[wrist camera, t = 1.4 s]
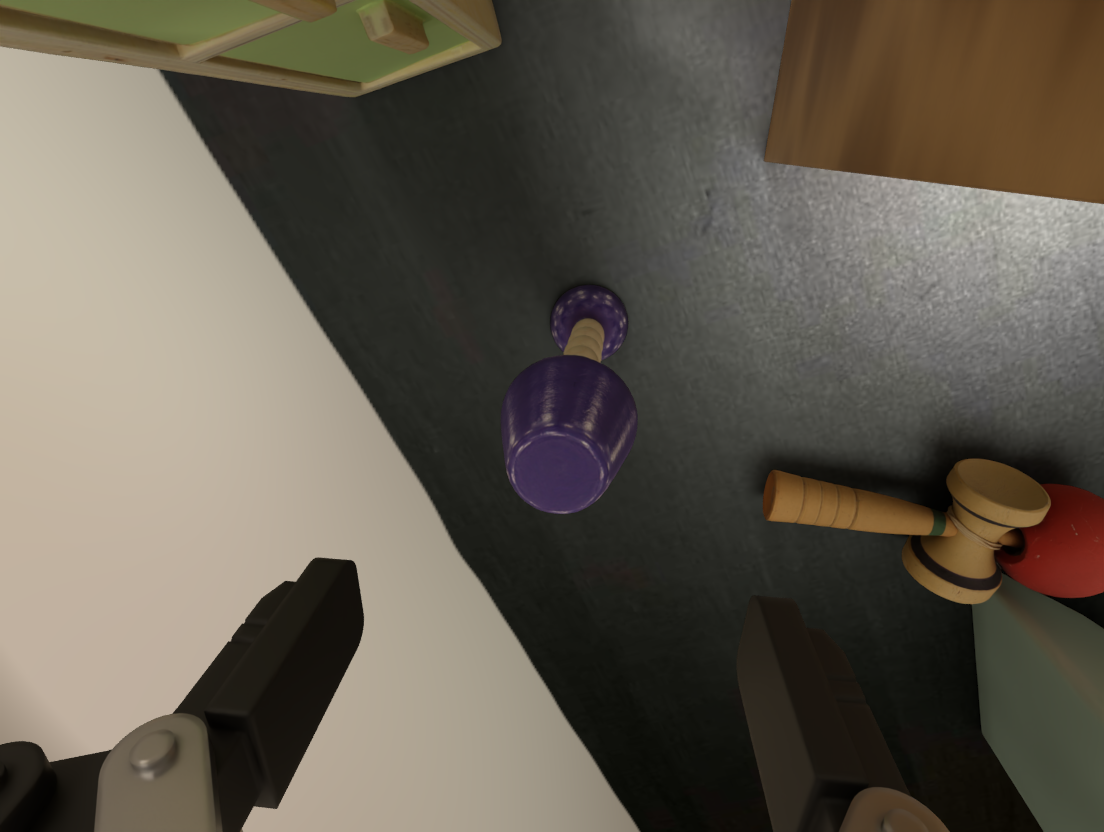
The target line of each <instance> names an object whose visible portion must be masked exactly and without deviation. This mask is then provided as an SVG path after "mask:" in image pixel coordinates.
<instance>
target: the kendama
mask: <svg viewBox="0 0 1104 832" xmlns="http://www.w3.org/2000/svg"><path fill="white" fill-rule="evenodd" d="M946 483H947V487H948V489H949V491H950V493H951V495H952V497H953V505H952V506H949V507H948V511H947V512H941V511H937V510H935V509H932V508H928V507H925V506H922V505H918V504H915V503H911V502H908V501H905V500H901V499H898V498H894V497H890V496H886V495H882V494H878V493H874V492H870V491H865V490H860V489H855V488H850V487H846V486H842V485H836V484H835V485H834V484H832V483H828V482H824V481H818V480H815V479H811V478H806V477H800V476H798V475H794V474H790V473H785V472H782V471H778V470H772V471H771V472H770V474H769V475H768V478H767V481H766V485H765V489H764V496H763V513H764V516H765V519H766V520H769V521H778V522H790V523H794V522H796V523H800V524H810V525H811V524H812V525H818V526H830V527H834V528H842V529H846V528H847V529H851V530H859V531H867V532H877V533H889V534H908V535H910V536H909V537H908V539H907V541H906V543H905V545H904V547H903V550H902V561H903V564H904V566H905V568H906V569H907V570H908V572H909V573H910V574H911V575H912V576H913V578H914V579H916V580H917V581H918V582H919V583H920V584H921V585H923V586H924V587H926V588H927V589H929V590H930V591H932V592H934V593H935V594H937V595H939V596H941V597H944V598H946V599H949V600H951V601H955V602H958V603H963V604H978V603H983V602H985V601H987V600H988V599H989V598H991V596H992V595H993V594H994V593H995V592H996V590H997V589H998V588H999V587H1000V585H1001V582H1002V573H1001V571H1002V569H1003V570H1004V572H1006V573H1007V574H1008V575H1009V576H1011V577H1012V578H1013V579H1014V580H1016V581H1017V582H1019V583H1020V584H1022V585H1024V586H1026V587H1027V588H1029V589H1032V590H1034V591H1036V592H1039V593H1042V594H1046V595H1050V596H1054V597H1062V598H1080V597H1088V596H1092V595H1096V594H1099V593H1102V592H1104V499H1102V498H1101V497H1099V496H1097V495H1095V494H1093V493H1091V492H1089V491H1086V490H1083V489H1080V488H1077V487H1073V486H1068V485H1061V484H1039V483H1037V482H1036V481H1035V480H1033V479H1032V478H1031V477H1029V476H1027V475H1026V474H1024V473H1022V472H1020V471H1019V470H1017V469H1014V468H1012V467H1010V466H1008V465H1005V464H1002V463H998V462H995V461H991V460H986V459H964V460H961V461H959V462H957V463H956V464H955V466H954V467H953V469H952V470H951V471H950V473H949V474H948V476H947V480H946Z"/></svg>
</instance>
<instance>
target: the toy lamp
mask: <svg viewBox="0 0 1104 832" xmlns="http://www.w3.org/2000/svg"><path fill="white" fill-rule="evenodd" d="M550 327H551V332H552V336H553V338H554V340H555V342H556V344H557V346H558V347H559V348H560V349H561V351H563V352H564V355H559V356H553V357H548V358H544V359H542V360H541V361H538V362H536V363H534V364H532V365H530V366H529V367H528V368H526V369H525V370H524V371H522V372H521V373H520V374H519V375H518V376H517V377H516V378H515V379H514V381H513V382H512V384H511V385H510V386H509V388H508V391H507V393H506V395H505V398H504V401H503V405H502V411H501V431H502V441H503V449H504V457H505V465H506V470H507V474H508V478H509V480H510V483H511V484H512V486H513V488H514V489H515V491H516V492H517V493H518V495H519V496H520V497H521V498H522V499H523V500H524V501H526V502H527V503H528V504H529V505H531V506H533V507H534V508H537V509H539V510H541V511H545V512H549V513H555V514H566V513H573V512H577V511H580V510H582V509H584V508H587V507H588V506H590V505H591V504H593V503H594V502H595V501H596V500H598V499H599V497H600V496H601V495H602V494H603V493H604V492H605V490H606V489H607V488H608V486H609V485H610V483H611V481H612V480H613V478H614V477H615V475H616V474H617V472H618V471H619V469H620V467H621V465H622V464H623V462H624V460H625V459H626V457H627V455H628V454H629V452H630V450H631V448H632V446H633V443H634V440H635V436H636V432H637V409H636V405H635V401H634V399H633V396H632V395H631V393H630V390H629V388H628V387H627V386H626V384H625V383H624V381H623V380H622V379H621V378H620V377H619V376H618V375H617V374H616V373H615V372H614V371H613V370H611V369H610V368H609V367H607V366H605V365H603V364H601V363H600V362H601V360H604V359H606V358H608V357H609V356H611V355H613V354H614V353H615V352H616V351H617V350H618V349H619V348H620V346H621V345H622V343H623V342H624V340H625V337H626V334H627V329H628V316H627V312H626V310H625V307H624V305H623V303H622V302H621V300H620V299H619V298H618V297H617V296H616V295H615V294H614V293H613V292H611V291H609V290H608V289H606V288H603V287H601V286H596V285H583V286H578V287H576V288H573V289H570V290H569V291H567V292H566V293H564V294H563V295H562V296H561V297H560V298H559V300H558V301H557V302H556V304H555V306H554V308H553V310H552V313H551V320H550Z"/></svg>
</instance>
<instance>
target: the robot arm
mask: <svg viewBox="0 0 1104 832" xmlns="http://www.w3.org/2000/svg"><path fill="white" fill-rule="evenodd" d="M363 626H364V613H363V607H362V600H361V594H360V588H359V581H358V574H357V568H356V565H355V563H354V562H353V561H352V560H341V559H329V558H315V559H313V560H312V561H311V562H310V563H309V565H308V566H307V567H306V569H305V570H304V572H303V573H302V574H301V576H300V577H299V578H298V580H297V581H296V582H291V581H285V582H283V583H282V584H281V585H279V586H278V587H276V588H275V589H274V590H272V591H271V592H270V593H268V594H267V595H265V596H264V597H263V598H261V600H260V601H259V602H258V604H257V605H256V606H255V608H254V609H253V610H252V611H251V613H250V614H249V615H248V617H247V618H246V620H245V623H244V624H242V625H241V626H240V627H239V628H238V630H237V631H236V632H235V634H234V635H233V636H232V640H231V642H228V643H227V644H226V645H225V647H224V648H223V649H222V651H221V652H220V653H219V654H218V656H217V657H216V658H215V660H214V661H213V662H212V664H211V665H210V666H209V667H208V669H207V670H206V671H205V673H204V674H203V675H202V677H201V678H200V679H199V680H198V682H197V683H196V684H195V686H194V687H193V688H192V690H191V691H190V692H189V694H188V695H187V696H186V698H185V699H184V700H183V701H182V703H181V704H180V705H179V706H178V708H177V709H176V710H175V711H174V712H173V714H170V715H165V716H162V717H159V718H156V719H153V720H151V721H149V722H147V723H145V724H143V725H141V726H139V727H138V728H136V729H135V730H133V731H132V732H131V733H129V734H128V735H127V736H125V737H124V738H123V739H122V740H121V741H120V742H119V743H118V744H117V745H116V746H115V747H114V748H113V749H112V750H109V751H104V752H99V753H95V754H89V755H84V756H79V757H74V758H69V759H64V760H59V761H54V762H49V761H48V759H47V757H46V756H45V754H44V752H43V750H42V749H41V747H39V746H38V745H37V744H34V743H32V742H25V741H19V742H11V743H6V744H2V745H0V832H243V831H242V827H243V825H244V823H245V821H246V819H247V817H248V816H249V814H250V812H251V810H252V808H253V806H256V807H265V808H273V809H277V808H278V806H279V804H280V802H281V800H282V798H283V796H284V794H285V792H286V790H287V788H288V786H289V784H290V782H291V780H292V777H293V776H294V774H295V772H296V770H297V768H298V766H299V764H300V762H301V760H302V758H303V756H304V754H305V752H306V750H307V748H308V746H309V744H310V742H311V740H312V738H313V736H314V734H315V732H316V730H317V728H318V726H319V724H320V722H321V720H322V718H323V716H324V714H325V712H326V710H327V708H328V706H329V704H330V702H331V700H332V698H333V696H334V694H335V692H336V690H337V688H338V686H339V684H340V682H341V680H342V678H343V676H344V674H345V672H346V670H347V668H348V666H349V664H350V662H351V660H352V658H353V656H354V654H355V652H356V650H357V648H358V646H359V643H360V640H361V637H362V633H363ZM737 677H738V684H739V688H740V693H741V697H742V701H743V705H744V709H745V714H746V718H747V722H748V726H749V731H750V735H751V739H752V743H753V747H754V752H755V756H756V760H757V764H758V768H759V773H760V777H761V781H762V785H763V790H764V794H765V798H766V802H767V806H768V811H769V815H770V819H771V823H772V827H773V832H949V830H948V829H947V828H946V827H945V825H944V824H943V823H942V822H941V821H940V820H939V818H938V817H937V816H936V815H935V814H934V813H932V812H931V811H930V810H929V809H928V808H927V807H925V806H924V805H923V804H921V803H920V802H918V801H917V800H915V799H914V798H912V797H911V795H910V793H909V791H908V789H907V788H906V786H905V783H904V781H903V779H902V777H901V775H900V773H899V770H898V768H897V766H896V764H895V762H894V760H893V757H892V755H891V753H890V751H889V749H888V746H887V744H886V742H885V740H884V738H883V736H882V733H881V731H880V729H879V727H878V725H877V723H876V720H875V718H874V716H873V714H872V712H871V710H870V707H869V705H866V699H865V696H864V694H863V692H862V690H861V688H860V686H859V683H856V677H855V675H854V673H853V670H852V668H851V666H850V664H849V662H848V660H847V657H846V655H845V653H844V652H843V650H842V649H841V648H840V647H839V646H838V645H837V644H836V643H835V642H834V641H833V640H832V639H831V638H830V637H829V635H828V634H827V633H826V632H825V631H824V630H823V629H814V628H806V626H805V623H804V621H803V618H802V616H801V613H800V611H799V608H798V606H797V604H796V602H795V601H794V600H793V599H790V598H779V597H767V596H755V595H754V596H752V597H751V599H750V601H749V605H748V609H747V613H746V618H745V622H744V626H743V631H742V635H741V639H740V644H739V648H738V654H737Z"/></svg>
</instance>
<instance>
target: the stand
mask: <svg viewBox="0 0 1104 832" xmlns="http://www.w3.org/2000/svg"><path fill="white" fill-rule="evenodd" d="M764 161H765V162H771V163H779V164H787V165H795V166H803V167H811V168H819V169H827V170H835V171H843V172H851V173H859V174H867V175H875V176H883V177H891V178H899V179H907V180H915V181H923V182H931V183H939V184H947V185H955V186H963V187H971V188H979V189H987V190H995V191H1003V192H1011V193H1019V194H1027V195H1035V196H1043V197H1051V198H1059V199H1067V200H1075V201H1083V202H1091V203H1099V204H1104V0H791V6H790V12H789V18H788V23H787V29H786V35H785V41H784V47H783V53H782V59H781V64H780V70H779V76H778V82H777V88H776V94H775V99H774V105H773V111H772V117H771V123H770V129H769V134H768V140H767V146H766V152H765V158H764Z"/></svg>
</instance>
